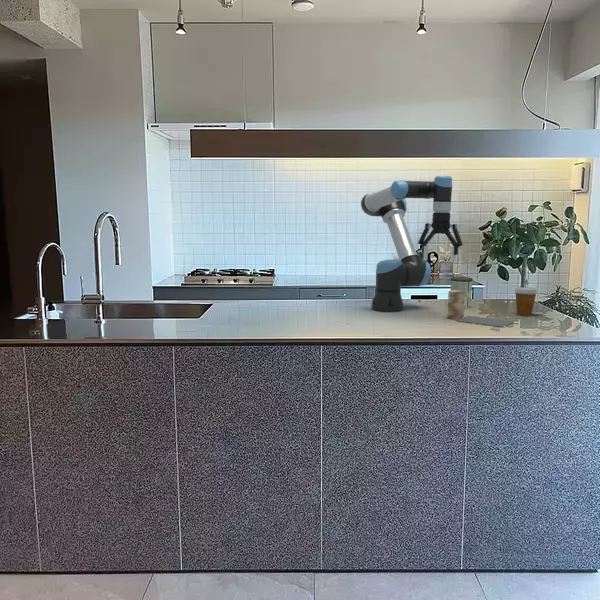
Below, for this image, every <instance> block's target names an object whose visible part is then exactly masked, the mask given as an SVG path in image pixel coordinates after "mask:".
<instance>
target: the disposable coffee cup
mask: <svg viewBox="0 0 600 600" xmlns="http://www.w3.org/2000/svg"><path fill="white" fill-rule="evenodd" d="M514 293H515V303H516V304H515V305H516V315H519V316H527V317H528V316H533V315H532V314H533V310H534V304H535V300H536V294H537V293H538V290H537V288H534V287H526V286H525V287H524V286H518V287H515V290H514Z"/></svg>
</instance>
